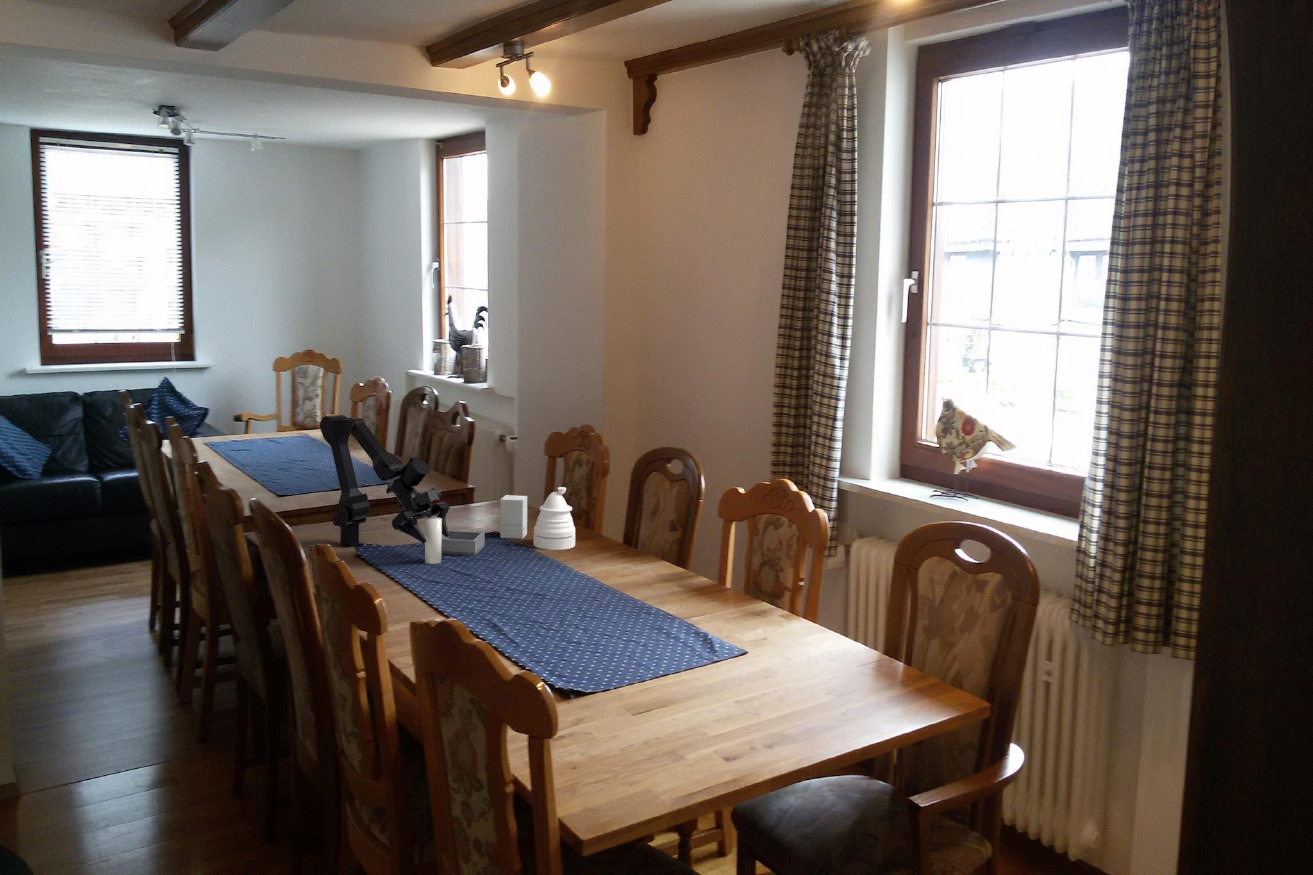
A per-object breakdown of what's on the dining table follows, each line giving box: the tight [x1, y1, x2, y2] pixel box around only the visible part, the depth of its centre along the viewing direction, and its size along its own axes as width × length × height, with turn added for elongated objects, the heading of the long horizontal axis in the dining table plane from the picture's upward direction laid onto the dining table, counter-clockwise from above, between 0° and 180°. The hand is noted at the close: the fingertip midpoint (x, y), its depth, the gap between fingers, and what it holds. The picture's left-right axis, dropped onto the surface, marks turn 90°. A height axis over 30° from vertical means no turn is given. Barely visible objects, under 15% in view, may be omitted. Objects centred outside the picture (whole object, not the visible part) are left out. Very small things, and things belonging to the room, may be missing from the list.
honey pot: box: [533, 486, 576, 551], centre depth 325 cm, size 13×13×18 cm
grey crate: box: [441, 529, 486, 557], centre depth 314 cm, size 12×12×4 cm
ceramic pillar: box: [424, 517, 442, 565], centre depth 300 cm, size 5×5×12 cm
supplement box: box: [499, 494, 528, 540], centre depth 334 cm, size 7×7×13 cm
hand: (436, 539), depth 299 cm, fingers open, 9 cm apart
